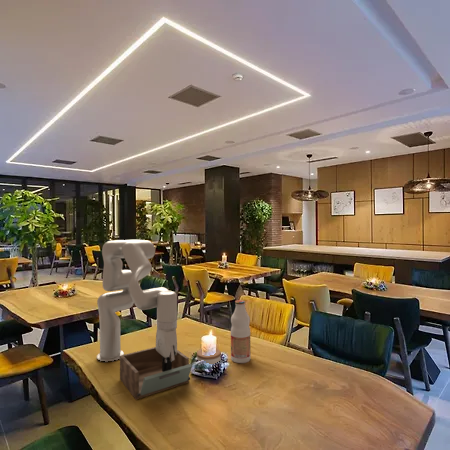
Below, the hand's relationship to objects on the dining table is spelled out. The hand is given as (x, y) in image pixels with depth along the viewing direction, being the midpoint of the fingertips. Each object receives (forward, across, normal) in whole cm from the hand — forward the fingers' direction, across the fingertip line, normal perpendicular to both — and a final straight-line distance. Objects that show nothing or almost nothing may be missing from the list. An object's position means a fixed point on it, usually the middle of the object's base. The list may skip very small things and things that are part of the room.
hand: (166, 371), depth 124 cm
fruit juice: (+9, -8, +42) cm, 44 cm away
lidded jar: (+9, -8, +24) cm, 27 cm away
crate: (+9, -12, 0) cm, 15 cm away
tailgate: (+7, -2, 0) cm, 7 cm away
